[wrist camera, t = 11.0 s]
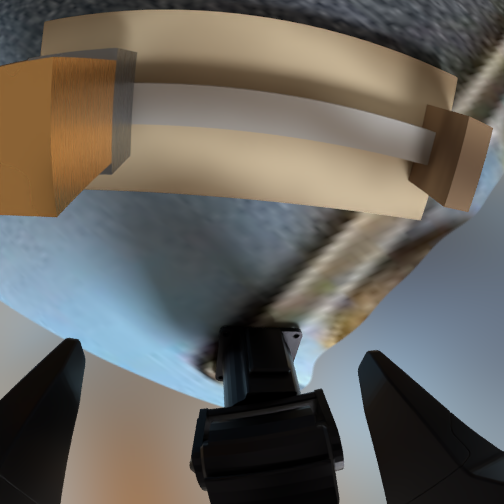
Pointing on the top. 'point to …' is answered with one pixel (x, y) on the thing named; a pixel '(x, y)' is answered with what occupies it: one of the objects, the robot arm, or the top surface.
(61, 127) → the slider block
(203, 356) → the top surface
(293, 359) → the robot arm
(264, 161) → the rail board
